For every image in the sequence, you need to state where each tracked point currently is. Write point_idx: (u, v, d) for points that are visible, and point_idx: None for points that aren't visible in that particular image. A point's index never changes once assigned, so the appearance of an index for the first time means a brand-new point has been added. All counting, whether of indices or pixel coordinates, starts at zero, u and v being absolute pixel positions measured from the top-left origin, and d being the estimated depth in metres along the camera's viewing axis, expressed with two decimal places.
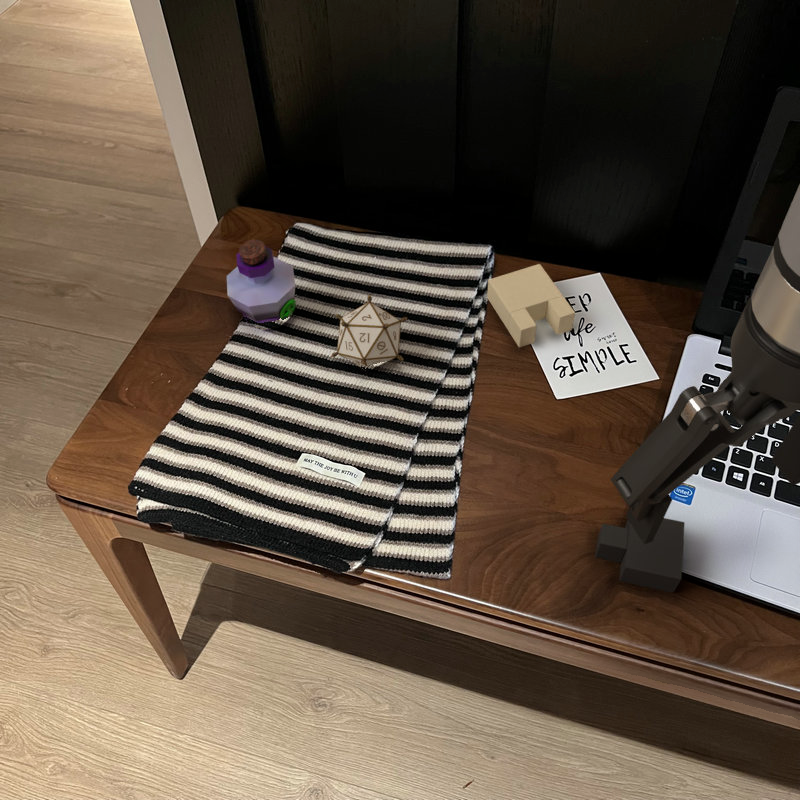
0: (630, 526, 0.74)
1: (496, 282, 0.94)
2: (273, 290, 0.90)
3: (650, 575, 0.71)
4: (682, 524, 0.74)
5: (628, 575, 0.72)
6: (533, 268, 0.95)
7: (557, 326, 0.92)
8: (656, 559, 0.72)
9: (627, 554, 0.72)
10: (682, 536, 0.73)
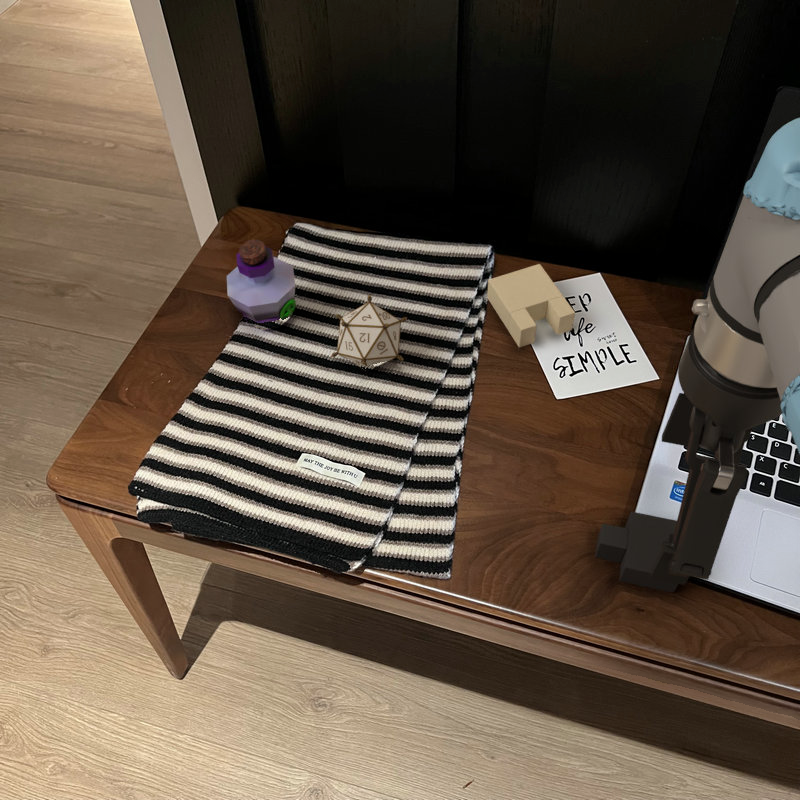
0: (630, 526, 0.74)
1: (496, 282, 0.94)
2: (273, 290, 0.90)
3: None
4: None
5: (628, 575, 0.72)
6: (533, 268, 0.95)
7: (557, 326, 0.92)
8: None
9: (627, 554, 0.72)
10: None
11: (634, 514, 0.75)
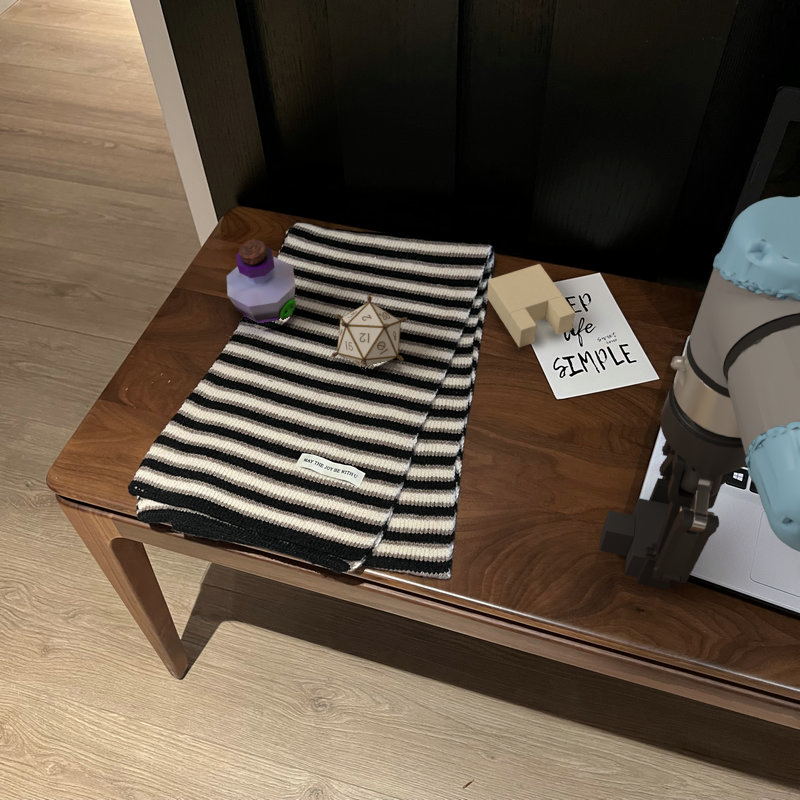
0: (637, 513, 0.71)
1: (496, 282, 0.94)
2: (273, 290, 0.90)
3: None
4: None
5: (635, 564, 0.70)
6: (533, 268, 0.95)
7: (557, 326, 0.92)
8: None
9: (635, 542, 0.69)
10: None
11: (641, 501, 0.72)
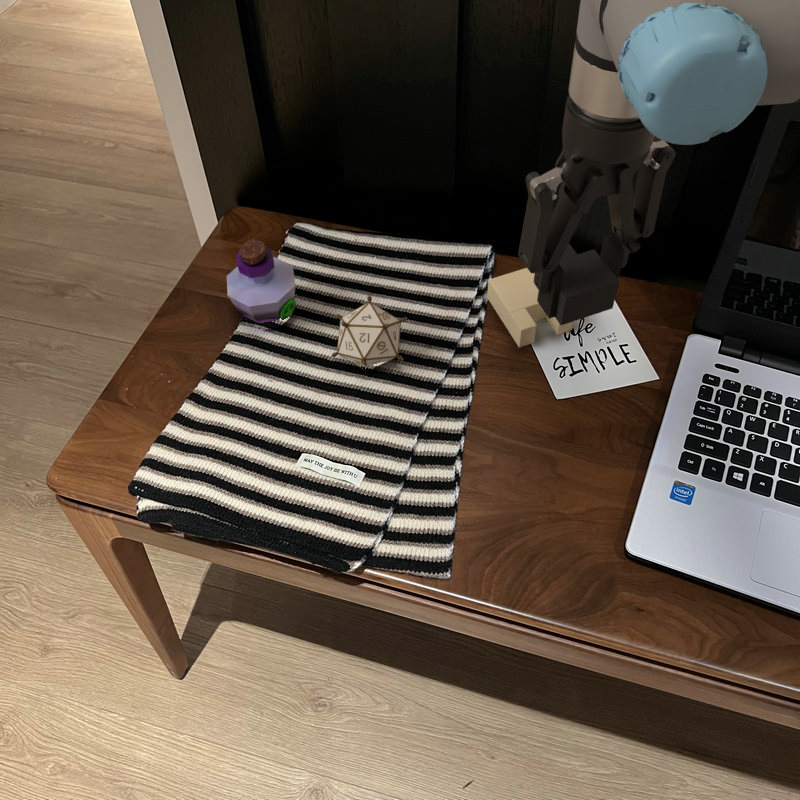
0: (580, 254, 0.79)
1: (496, 282, 0.94)
2: (273, 290, 0.90)
3: None
4: (616, 280, 0.77)
5: None
6: None
7: (557, 326, 0.92)
8: (567, 278, 0.77)
9: None
10: (604, 284, 0.77)
11: (593, 251, 0.79)
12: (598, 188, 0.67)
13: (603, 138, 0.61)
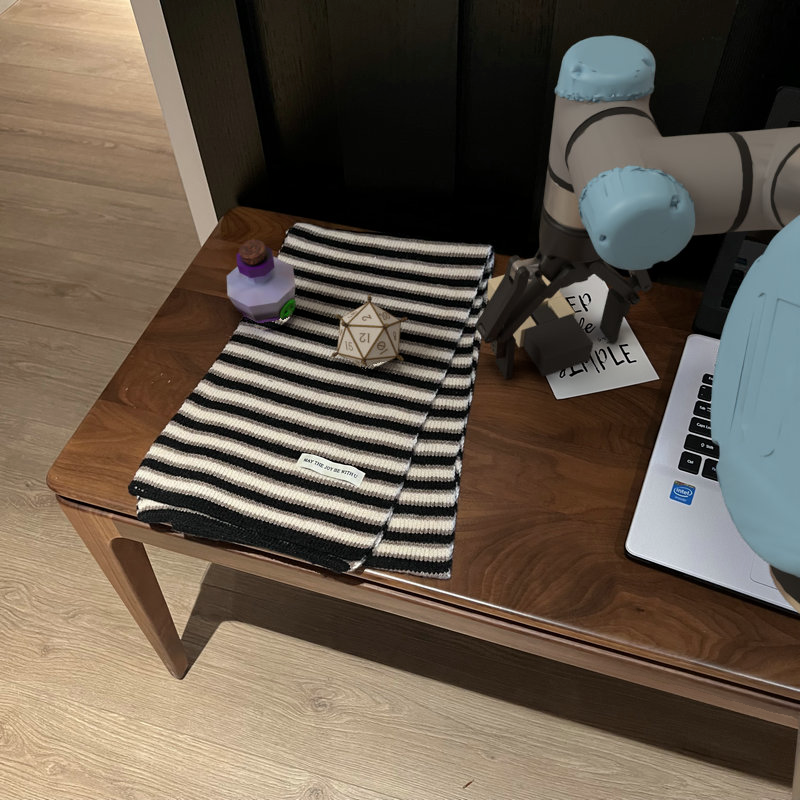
0: (559, 318, 0.90)
1: (496, 282, 0.94)
2: (273, 290, 0.90)
3: (534, 346, 0.89)
4: (590, 343, 0.88)
5: (526, 340, 0.90)
6: None
7: None
8: (547, 341, 0.88)
9: (536, 326, 0.90)
10: (580, 346, 0.87)
11: (571, 316, 0.90)
12: (570, 278, 0.78)
13: (572, 242, 0.73)
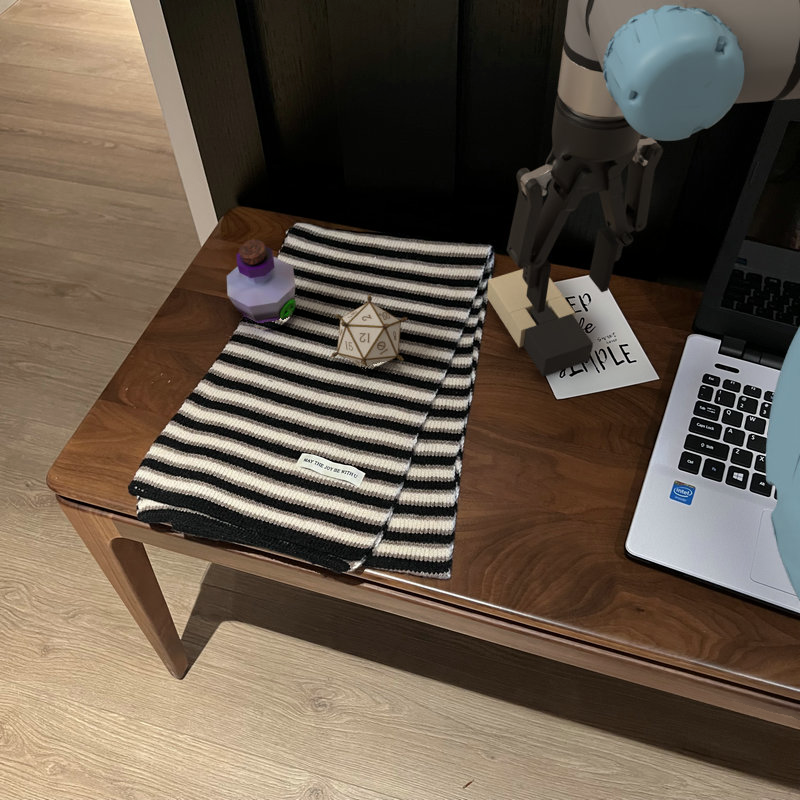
0: (559, 318, 0.90)
1: (496, 282, 0.94)
2: (273, 290, 0.90)
3: (534, 346, 0.89)
4: (590, 343, 0.88)
5: (526, 340, 0.90)
6: None
7: None
8: (547, 341, 0.88)
9: (536, 326, 0.90)
10: (580, 346, 0.87)
11: (571, 316, 0.90)
12: (587, 185, 0.69)
13: (591, 136, 0.63)
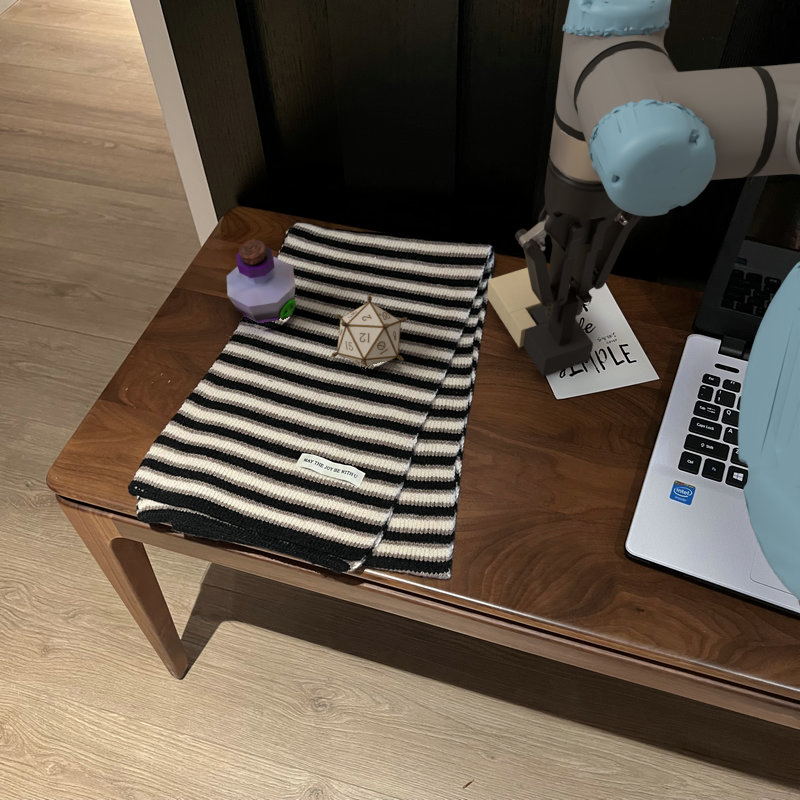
0: None
1: (496, 282, 0.94)
2: (273, 290, 0.90)
3: (534, 346, 0.89)
4: (590, 343, 0.88)
5: (526, 340, 0.90)
6: None
7: None
8: (547, 341, 0.88)
9: (536, 326, 0.90)
10: (580, 347, 0.87)
11: None
12: (577, 238, 0.74)
13: (580, 197, 0.68)
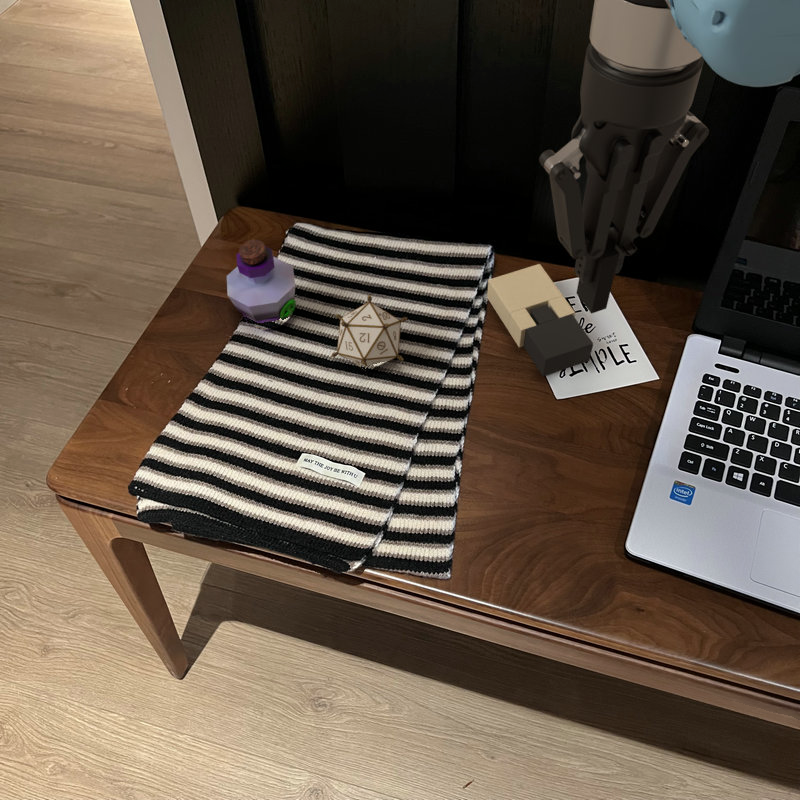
0: (559, 318, 0.90)
1: (496, 282, 0.94)
2: (273, 290, 0.90)
3: (534, 346, 0.89)
4: (590, 343, 0.88)
5: (526, 340, 0.90)
6: (533, 268, 0.95)
7: None
8: (547, 341, 0.88)
9: (536, 326, 0.90)
10: (580, 346, 0.87)
11: (571, 316, 0.90)
12: (624, 161, 0.55)
13: (633, 95, 0.49)
